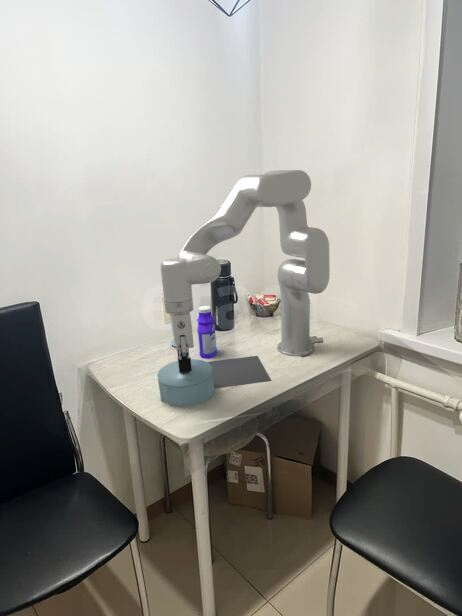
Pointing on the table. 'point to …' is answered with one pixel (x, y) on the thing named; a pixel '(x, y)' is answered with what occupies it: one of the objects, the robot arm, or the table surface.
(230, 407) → the table surface
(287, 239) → the robot arm
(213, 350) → the bottle
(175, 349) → the pacifier
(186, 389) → the squat blue cylinder
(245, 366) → the mat
